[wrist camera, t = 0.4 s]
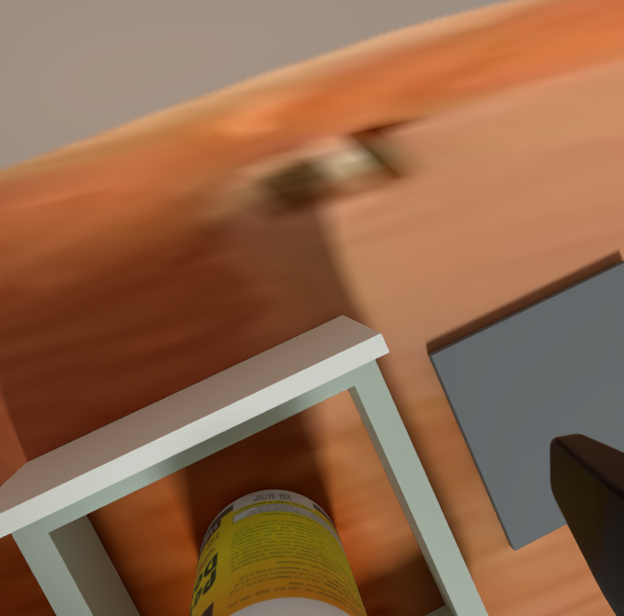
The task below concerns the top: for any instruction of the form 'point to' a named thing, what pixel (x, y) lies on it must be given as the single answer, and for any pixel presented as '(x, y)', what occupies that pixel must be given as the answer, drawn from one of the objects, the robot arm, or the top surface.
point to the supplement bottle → (274, 561)
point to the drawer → (203, 442)
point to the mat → (538, 394)
